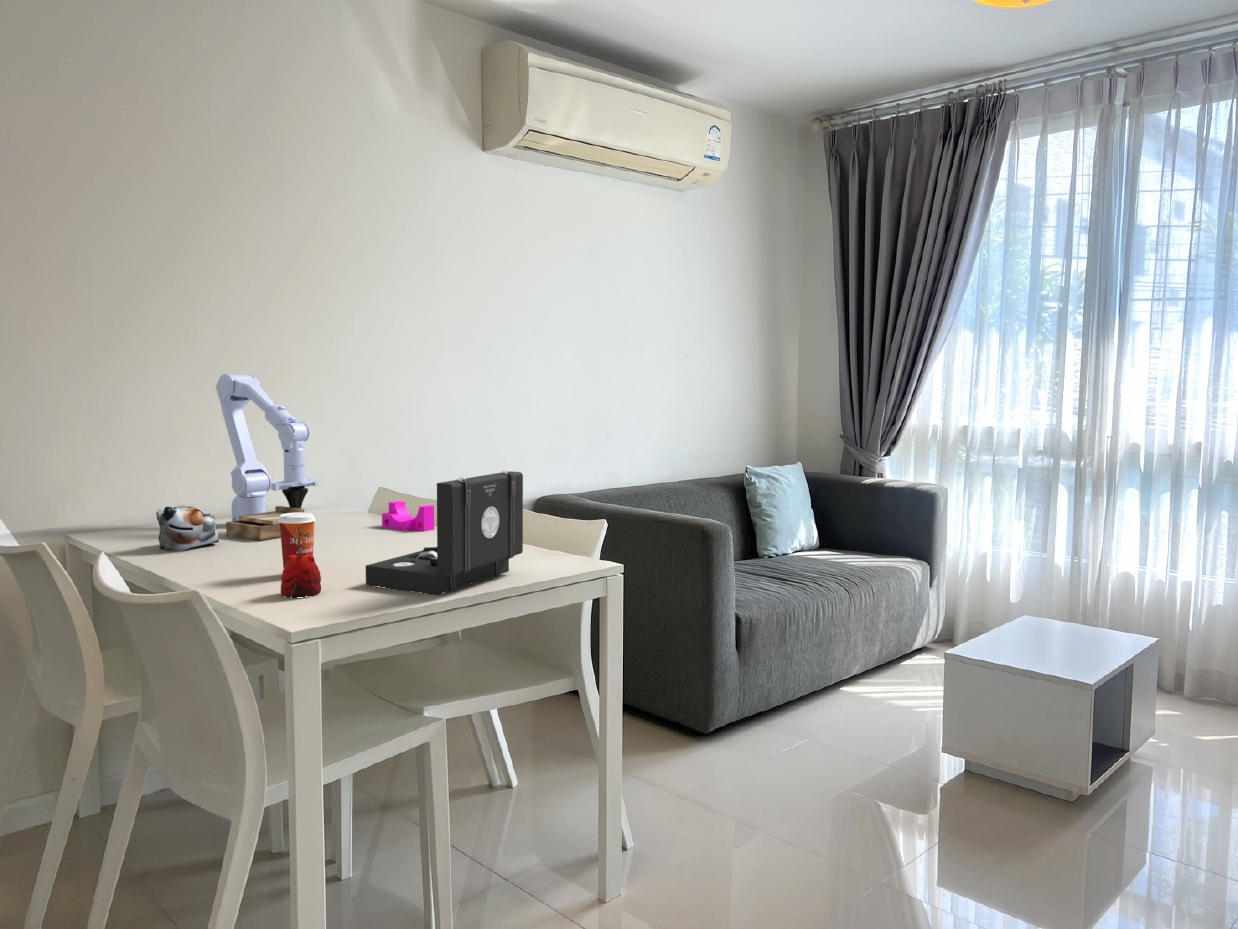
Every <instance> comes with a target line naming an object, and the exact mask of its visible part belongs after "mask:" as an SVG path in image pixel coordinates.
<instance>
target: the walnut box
mask: <svg viewBox="0 0 1238 929" xmlns="http://www.w3.org/2000/svg"><path fill="white" fill-rule="evenodd" d="M225 526H226V527H225V529H226V530H225V532H226V537H227V538H235V539H241V540H247V539H248V540H247V541H255V542H265V541H271V540H277V539H281V533H280V524H275V525H271V524H264V523H257V522H250V521H243V520H238V521H232V520H230V521H226V522H225Z"/></svg>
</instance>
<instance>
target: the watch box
mask: <svg viewBox="0 0 1238 929" xmlns="http://www.w3.org/2000/svg"><path fill="white" fill-rule="evenodd" d="M523 514H524V475H523V473H522V472H520V471H511V470H508V469H506V470H502V471H501V472H497V473H490V474H485V475H484V474H483V475H480V476H479V475H477V476H472V477H466V478H465V477H456V479H453V480H448V481H447V480H446V481H443V482H442V481H441V482H436V541H437V542H436V545H437V546H433V547H431V546H429V547H426V546H425V547H423V549H422V550H420V551H415V552H412V553H407V554H404V555H403V554H402V555H401V556H396V557H392V558H388V559H385V560H381V561H377V562H374V563H369V564H365V586H366V585H369V586H368V587H370V586H380V587H385V588H384V589H386V588H391V589H390V590H393V589H396V590H395V591H401V590H402V592H409V591H414V592H413V593H416V592H422V593H421V594H424V593H428V594H427V595H432V594H435V595H434V596H440V595H442V594H441V593H443V592H446V591H449V592H453V591H456V590H457V589H456V588H458V587H461V586H464V587H467V586H469V585H468V584H470V583H473V582H476V581H479V582H481V580H482V581H484V579H485V580H487V578H488V579H490V578H493V577H496V576H495V575H498V576H500V575H502V574H505V573H508V572H510V559H513V558H514V557H515V556H518V555H520V554H522V553H523V549H524V545H523V544H524V542H523V541H524V539H523V538H524V537H523V536H524V535H523V534H524V527H523V526H524V520H523V519H524V518H523V517H524V515H523ZM492 576H493V577H492ZM489 577H490V578H489ZM476 583H477V582H476ZM473 584H474V583H473ZM466 585H467V586H466ZM470 585H471V584H470ZM461 588H462V587H461ZM458 589H459V588H458ZM452 590H453V591H452ZM446 593H447V592H446ZM439 594H440V595H439ZM443 594H444V593H443Z"/></svg>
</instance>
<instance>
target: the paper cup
mask: <svg viewBox="0 0 1238 929" xmlns="http://www.w3.org/2000/svg"><path fill="white" fill-rule="evenodd" d="M316 520H317V519H316V518H315V516H314V513H312V512H305V511H304V512H297V513H286V514H282V515H280V520H278V522H279V523H280V533H281V538H280V541H281V542H280V543H281V554H282V556H281V557H282V567H283V568H282V569H284V567H285V565H286V563H287V562H288V557H289V556H290V555H295V556H297V552H298V547H297V543H298V535H297V530H298V529H297V528H298V526H299V530H300V531H301V533H302V534H307V533H310V538H308V537H306V536H302V535H301V538H300V543H301V546H300V550H301V553H302V555H303V556H308V555H312V556H313V557H314V540H315V539H314V538H315V537H314V536H315V522H316ZM296 529H297V530H296Z"/></svg>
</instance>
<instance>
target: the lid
mask: <svg viewBox="0 0 1238 929" xmlns="http://www.w3.org/2000/svg"><path fill="white" fill-rule="evenodd" d="M297 512H304V513H305V509H304V508H301V509H300V508H292V507H290V506H283V505H278V506H275V510H272V511H266V512H265V513H258V514H251V515H244V516H239V520H243V521H250V522H257V523H264V524H271V525H275V524H280V523H279V522H278V520H280V515H282V514H286V513H297Z"/></svg>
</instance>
